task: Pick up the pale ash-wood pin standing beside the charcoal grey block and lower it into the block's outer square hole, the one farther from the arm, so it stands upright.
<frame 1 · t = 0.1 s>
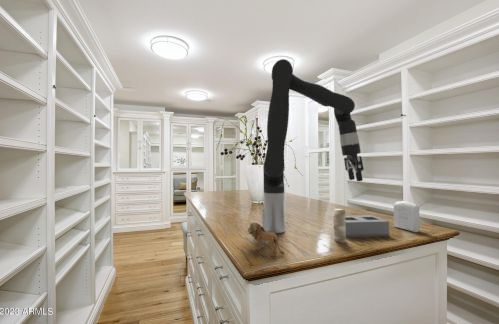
hand: (355, 180, 103), 22 cm above the table, tool pointing down, fingers open, 8 cm apart
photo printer: (406, 229, 106), on the table
lion figurine: (264, 251, 81), on the table
hole block: (360, 232, 101), on the table
pin: (340, 241, 90), on the table
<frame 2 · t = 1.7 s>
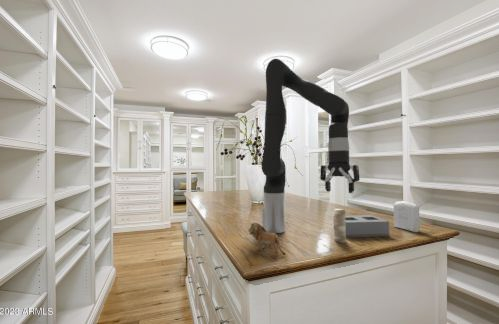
hand: (339, 192, 91), 19 cm above the table, tool pointing down, fingers open, 8 cm apart
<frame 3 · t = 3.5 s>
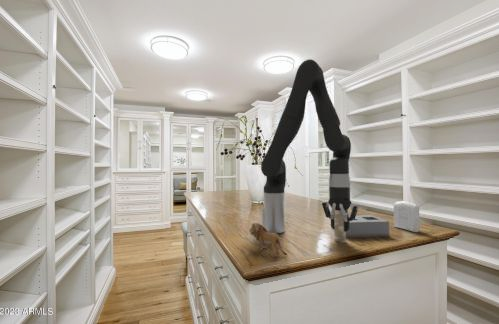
hand: (340, 229, 90), 4 cm above the table, tool pointing down, fingers closed on pin, 4 cm apart
pin: (340, 241, 90), on the table, touching gripper
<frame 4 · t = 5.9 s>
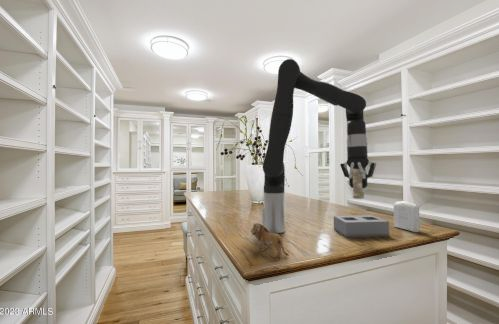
hand: (358, 187, 96), 20 cm above the table, tool pointing down, fingers closed on pin, 4 cm apart
pin: (358, 198, 96), point 16 cm above the table, touching gripper
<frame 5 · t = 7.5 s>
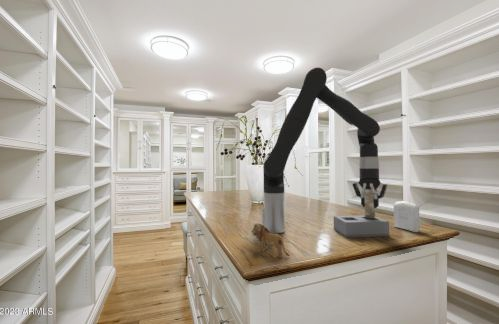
hand: (369, 207, 101), 11 cm above the table, tool pointing down, fingers closed on pin, 4 cm apart
pin: (370, 216, 101), point 7 cm above the table, touching gripper
when the fingers open (7 cm above the table, at t = 8.6 s): pin drops 2 cm, resting on hole block.
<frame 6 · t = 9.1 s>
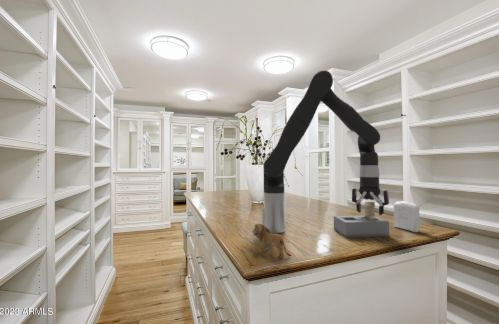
hand: (369, 213, 101), 8 cm above the table, tool pointing down, fingers open, 8 cm apart
pin: (369, 229, 101), point 1 cm above the table, touching hole block
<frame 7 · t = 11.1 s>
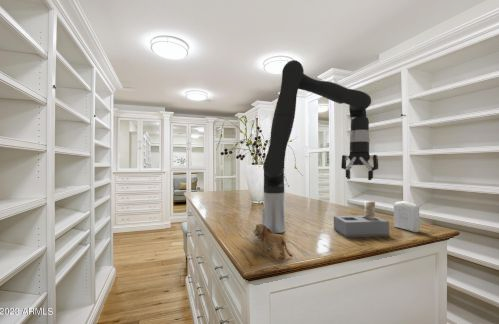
hand: (358, 179, 100), 23 cm above the table, tool pointing down, fingers open, 8 cm apart
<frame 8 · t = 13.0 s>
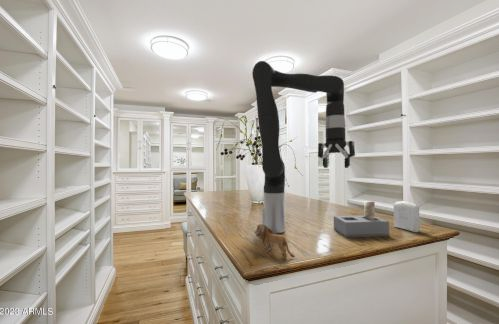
hand: (335, 167, 95), 28 cm above the table, tool pointing down, fingers open, 8 cm apart
at the end: pin 0.2 cm from the target spot on the hole block, point 1.1 cm above the hole block's base; pin tilted 2°; the gripper is holding nothing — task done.
